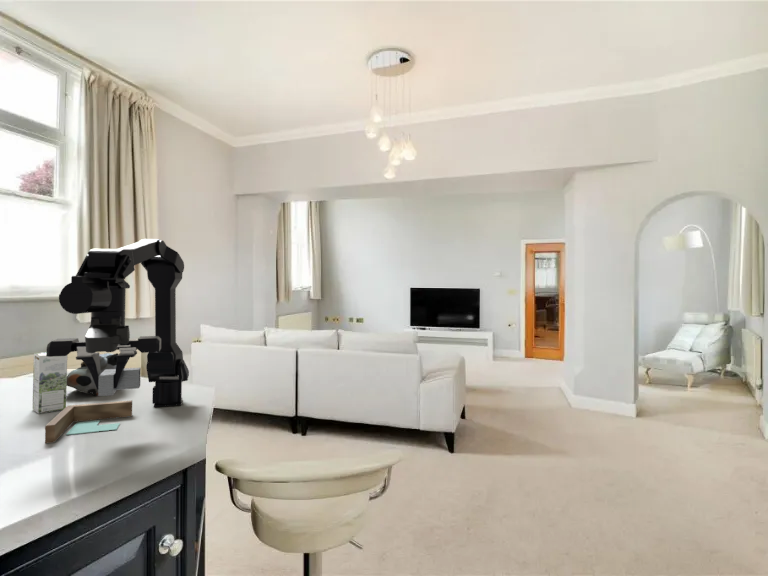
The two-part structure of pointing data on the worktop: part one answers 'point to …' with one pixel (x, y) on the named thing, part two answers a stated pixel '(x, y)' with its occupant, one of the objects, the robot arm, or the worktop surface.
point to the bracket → (127, 381)
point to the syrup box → (49, 383)
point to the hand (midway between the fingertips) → (107, 388)
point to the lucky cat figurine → (83, 377)
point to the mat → (91, 427)
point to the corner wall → (85, 416)
